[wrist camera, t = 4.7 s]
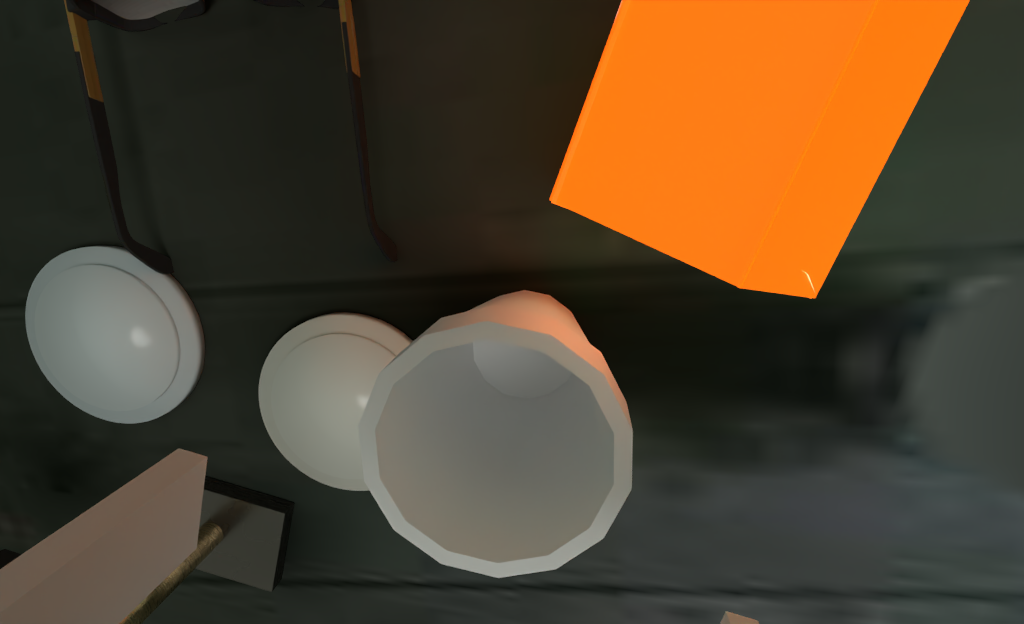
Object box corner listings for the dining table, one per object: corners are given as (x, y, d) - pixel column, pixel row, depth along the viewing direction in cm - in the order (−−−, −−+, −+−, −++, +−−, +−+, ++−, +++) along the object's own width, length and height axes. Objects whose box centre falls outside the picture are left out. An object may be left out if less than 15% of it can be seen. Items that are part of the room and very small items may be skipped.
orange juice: (559, 191, 29) (528, 217, 10) (624, 15, 27) (749, -400, 8) (700, 242, 29) (950, 372, 10) (777, 70, 27) (1307, -211, 7)
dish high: (279, 290, 32) (268, 295, 31) (460, 341, 32) (456, 347, 30) (255, 455, 35) (243, 465, 34) (421, 504, 34) (416, 516, 33)
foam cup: (432, 401, 33) (343, 540, 20) (458, 247, 30) (374, 296, 18) (590, 437, 32) (599, 602, 20) (629, 283, 30) (667, 360, 17)
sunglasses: (173, 272, 33) (104, 288, 28) (114, -10, 30) (25, -47, 25) (400, 259, 31) (368, 274, 26) (365, -41, 28) (322, -87, 23)
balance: (388, 530, 35) (225, 836, 19) (371, 606, 37) (207, 950, 20) (72, 436, 36) (-342, 650, 20) (69, 514, 38) (-319, 771, 21)
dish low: (40, 224, 33) (20, 226, 32) (214, 272, 32) (201, 276, 31) (35, 391, 36) (17, 398, 35) (195, 438, 35) (182, 447, 34)
